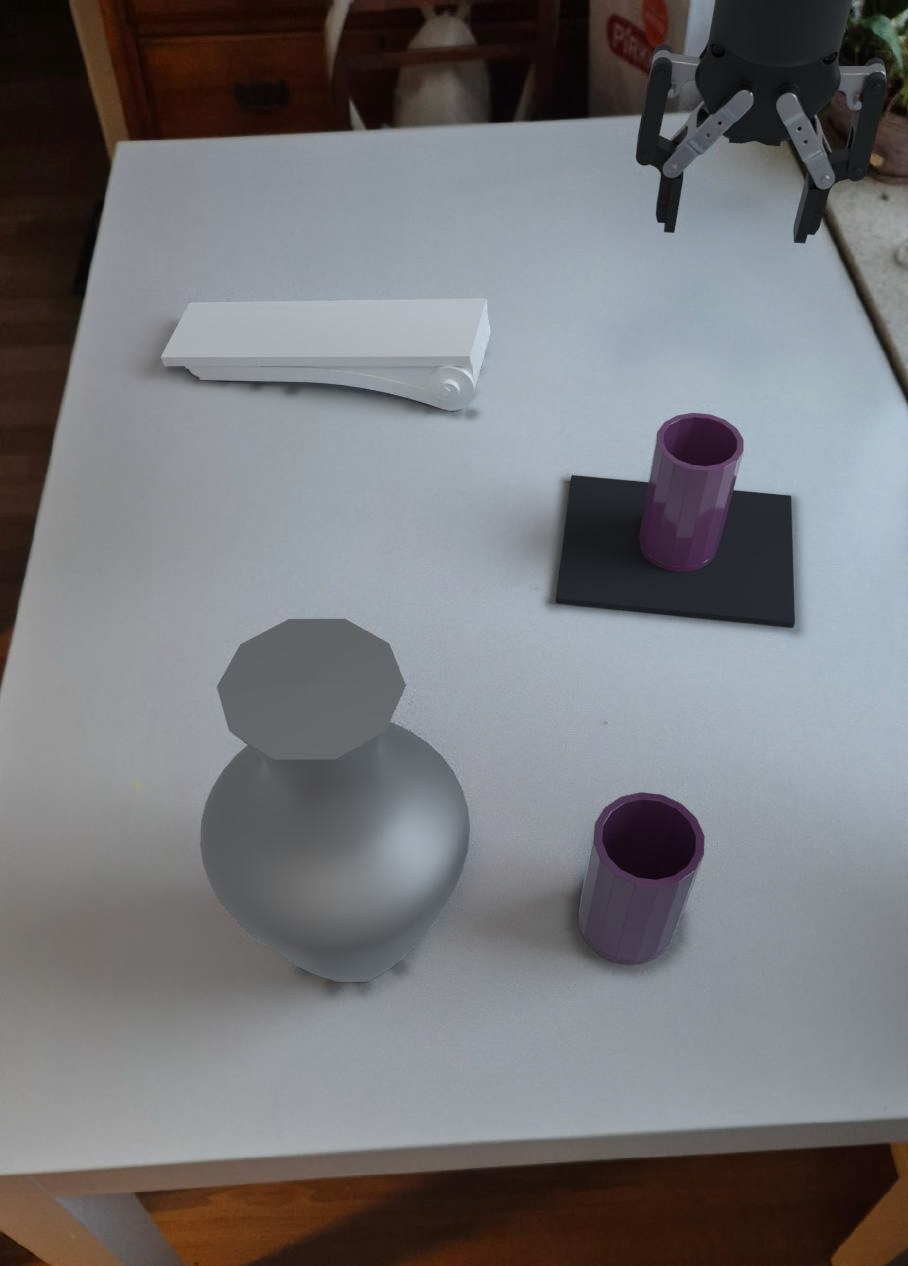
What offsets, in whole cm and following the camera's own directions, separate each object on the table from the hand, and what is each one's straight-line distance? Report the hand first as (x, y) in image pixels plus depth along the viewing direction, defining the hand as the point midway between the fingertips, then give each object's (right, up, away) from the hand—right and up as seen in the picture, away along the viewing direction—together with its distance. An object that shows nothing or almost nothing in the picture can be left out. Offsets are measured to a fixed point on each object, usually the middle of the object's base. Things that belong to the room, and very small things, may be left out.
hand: (734, 231), depth 76 cm
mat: (-1, -18, +15) cm, 23 cm away
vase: (-25, -46, -4) cm, 53 cm away
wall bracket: (-30, +2, +28) cm, 41 cm away
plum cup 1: (-1, -17, +14) cm, 23 cm away
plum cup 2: (-8, -45, -3) cm, 46 cm away
